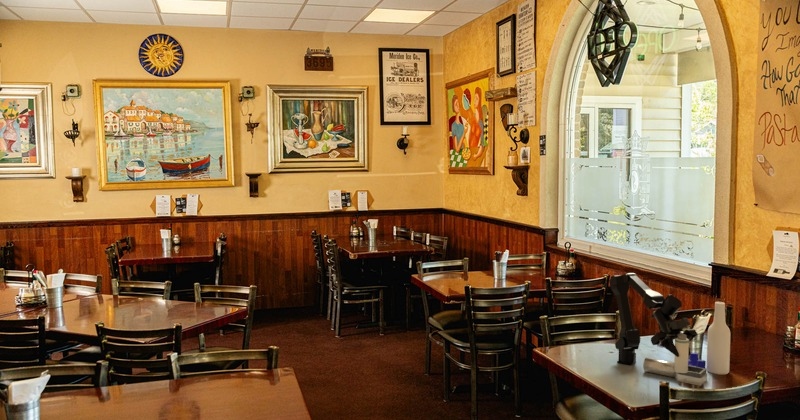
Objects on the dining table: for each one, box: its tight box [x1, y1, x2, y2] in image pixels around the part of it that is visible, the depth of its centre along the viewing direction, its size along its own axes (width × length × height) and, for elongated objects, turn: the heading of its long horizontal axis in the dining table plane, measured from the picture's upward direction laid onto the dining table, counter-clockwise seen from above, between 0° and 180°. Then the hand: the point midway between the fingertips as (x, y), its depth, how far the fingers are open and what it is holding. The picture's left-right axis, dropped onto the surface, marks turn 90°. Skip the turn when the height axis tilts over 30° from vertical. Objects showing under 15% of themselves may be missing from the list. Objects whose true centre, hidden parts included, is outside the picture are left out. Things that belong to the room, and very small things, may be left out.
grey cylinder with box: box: [642, 357, 708, 387], centre depth 277 cm, size 24×9×7 cm, turn 50°
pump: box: [673, 334, 690, 373], centre depth 263 cm, size 5×5×15 cm
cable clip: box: [688, 352, 707, 369], centre depth 286 cm, size 12×4×6 cm, turn 172°
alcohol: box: [705, 301, 731, 376], centre depth 282 cm, size 9×9×30 cm
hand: (683, 355), depth 261 cm, fingers closed on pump, 5 cm apart
